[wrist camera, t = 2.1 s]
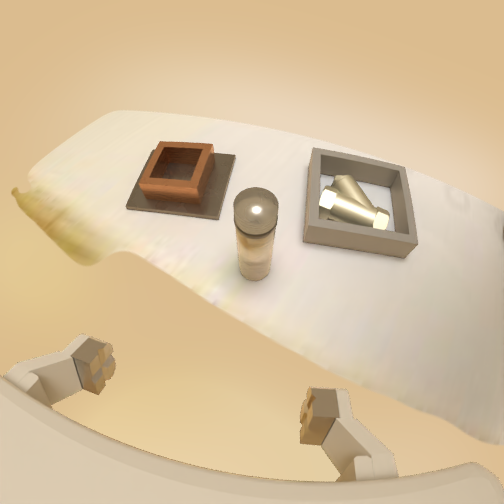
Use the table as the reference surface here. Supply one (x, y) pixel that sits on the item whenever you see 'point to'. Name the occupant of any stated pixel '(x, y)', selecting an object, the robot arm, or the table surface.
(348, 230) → the parts corral
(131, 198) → the collar
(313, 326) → the table surface
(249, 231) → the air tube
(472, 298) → the table surface
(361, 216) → the pipe fitting
